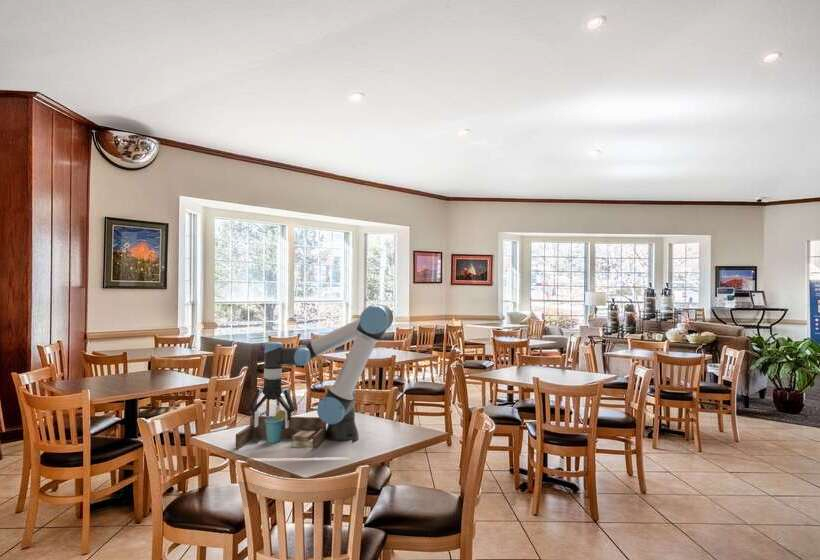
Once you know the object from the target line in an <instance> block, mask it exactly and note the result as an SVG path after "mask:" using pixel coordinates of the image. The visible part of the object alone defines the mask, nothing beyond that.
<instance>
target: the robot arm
mask: <svg viewBox="0 0 820 560" xmlns="http://www.w3.org/2000/svg"><path fill="white" fill-rule="evenodd" d="M393 321H394V314H393V311H392V309H390V307H388V306H387V305H384V304H370V305H369V306H367V307H366V308H364V309H363V311H362V312H361V313H360V316H359V318H358V319H356V320H355V319H354V320H353V321H352V322H351V321H350V322H349V323H347V324H345V325H343V326H341V327H339V328H336V329H335V330H332V331H329V332H328V333H326V334H324V335H322V336H320V337H317V338H315V339H313V340H311V341H309V342H306V343H305V344H302V345H299V346H296V347H291V346H290V347H286V346H284V344H283V343H282V342H281V341H269V342H266V343H265V345H264V359H263V361H264V363H263V366H264V367H263V378H264V379H263V389H262V388H261V387H259V388H256V390H255V394H254V397H253V398H252V400H251V403H250V404H249V407H248V408H247V409H248V410H249V411H252V416H253V417H252V418H253V419H255V420H254V427H257V426H258V416H260V413H259V410H258V409H259V408H260V407H261V406H262V405H263V403H265V401H266V400H268V401H270V400H273V401H278V402H279V403H280V404H281V406H282V407H283V409H284V411H285V428H288V427H289V420H291V417H292V412H295V411H296V410H297V408H296V406H295V405H294V402H293V400H292V398H291V395H290V390H289V389H288V388H286V389H283V388H282V381H283V380H282V375H283V372H282V371H283V365H285V366H286V365H287V366H307V365H308V364H309V363H310V361H312V360H313V359H315V358H317V357H319V356H322V355H324V354H325V353H328V352H331V351H332V350H334V349H337V348H339V347H341V346H344V345H346V344H347V343H349V342H352V341H353V343H352V346H351V347H350V350H349V352H348V354H347V356H346V357H345V358H346V359H345V360H344V363H343V365H342V367H341V369H340V371H339V373H338V374H337V377H336V380H335V382H334V383H333V384H331V385H329V386H328V388H327V390H326V392H325V394H324V396H323V398H322V399H321V400H320V401H319V403H318V405H317V409H316V411H317V415H318V416H317V417H319V418H320V419H321V420H322V421H323V422H324V423H326V436H325V440H328V441H333V442H334V441H335V442H345V441H351V442H355V441H357V440H359V432H358V431H359V430H358V428H357V425H356V418H355V417H356V416H355V415H356V406H355V405H356V404H355V403H356V392H355V391H356V389H355V388H356V386H357V384H358V381H359V380H360V378H361V375H362V373H363V371H364V369H365V367H366V365H367V363H368V360H369V358H370V356H371V354H372V352H373V350H374V348H375V346H376V344H377V343H380V342H381V341H382V339H383V337H384V336H385V333H386V330H388V329H389V328H390V327H391V326H392V325H393ZM261 394H263V397H261V399H260V400H259V397H260V395H261ZM282 394H283V395H284V397H285V399H284V398H283V397H282ZM258 400H259V402H257V401H258ZM285 400H286V401H285ZM256 403H257V404H256Z"/></svg>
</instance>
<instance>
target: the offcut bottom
mask: <svg viewBox="0 0 820 560" xmlns="http://www.w3.org/2000/svg"><path fill="white" fill-rule="evenodd" d="M290 447H291V448H313V446H293V444H291V445H290Z"/></svg>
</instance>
